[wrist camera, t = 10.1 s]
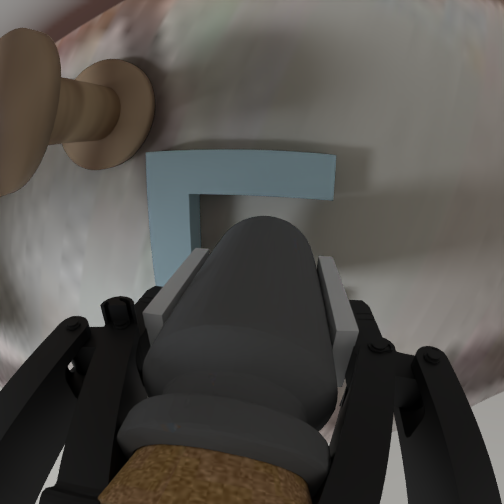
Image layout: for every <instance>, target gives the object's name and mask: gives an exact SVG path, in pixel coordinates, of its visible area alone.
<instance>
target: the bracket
mask: <svg viewBox="0 0 504 504" xmlns="http://www.w3.org/2000/svg"><path fill="white" fill-rule="evenodd" d="M335 169H336V155H332V154H322V153H310V152H296V151H278V150H250V149H202V150H174V151H157V152H147V153H146V177H147V198H148V214H149V227H150V238H151V249H152V258H153V267H154V275H155V283H156V286H161V287H163V286H164V285H165V284H166V283H167V281H168V280H169V279H170V278H171V277H172V275H173V274H174V273H175V272H176V271H177V269H178V268H179V267H180V266H181V265H182V263H183V262H184V261H185V260H186V259H187V257H188V256H189V255H190V254H191V253H192V251H193V250H194V249H195V248H201V230H200V194H223V195H252V196H273V197H290V198H306V199H319V200H332V201H333V195H334V183H335Z"/></svg>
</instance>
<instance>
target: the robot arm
mask: <svg viewBox="0 0 504 504" xmlns="http://www.w3.org/2000/svg"><path fill="white" fill-rule="evenodd" d="M208 257H209V249H206V248H195V249H194V250H193V251H192V253H191V254H190V255H189V256H188V257H187V259H186V260H185V261H184V262H183V263H182V265H181V266H180V267H179V268H178V269H177V271H176V272H175V273H174V274H173V275H172V277H171V278H170V279H169V280H168V281H167V283H166V284H165V285H164V286H163V287H161V286H154V287H152V288H151V289H149V290H147V291H146V292H145V293H144V295H143V296H142V297H141V298H140V299H139V300H138V302H137V303H136V304H135V305H134V301H133V300H132V299H131V298H128V297H123V296H119V297H113V298H110V299H107V300H106V301H104V302H103V303H102V304H101V305H100V306H101V309H102V313H103V317H104V321H105V326H104V327H89V324H88V321H87V319H86V318H84V317H81V316H72V317H69V318H67V319H65V320H64V321H63V322H61V323H60V324H59V325H58V326H57V327H56V328H55V330H54V331H53V332H52V333H51V334H50V335H49V336H48V337H47V338H46V339H45V340H44V341H43V342H42V343H41V345H40V346H39V347H38V348H37V349H36V350H35V351H34V352H33V353H32V354H31V356H30V357H29V358H28V359H27V360H26V361H25V362H24V364H23V365H22V366H21V367H20V368H19V369H18V371H17V372H16V373H15V374H14V375H13V376H12V378H11V379H10V380H9V381H8V382H7V384H6V385H5V386H4V387H3V389H2V390H1V391H0V504H35V502H36V500H37V498H38V496H39V494H40V492H41V490H42V487H43V485H44V483H45V481H46V479H47V477H48V475H49V473H50V471H51V469H52V467H53V466H54V464H55V461H56V460H57V457H58V456H59V453H60V452H61V450H62V448H63V447H64V445H65V447H64V451H63V455H62V460H61V464H60V469H59V474H58V479H57V482H56V484H55V486H53V487H48V488H46V489H45V490H44V491H43V492H42V494H41V497H40V501H39V504H100V501H99V500H98V497H99V495H100V494H101V493H102V492H103V490H104V489H105V488H106V487H107V486H108V485H109V483H110V482H111V481H112V479H113V478H114V477H115V476H116V475H117V473H118V472H119V471H120V470H121V469H122V467H123V466H124V465H125V464H126V463H127V461H128V460H127V459H126V457H125V456H124V454H123V452H122V450H121V448H120V446H119V444H118V442H117V435H118V431H119V429H120V428H121V426H122V424H123V422H124V420H125V418H126V416H127V415H128V413H129V411H130V410H131V409H132V408H133V407H134V406H135V405H136V404H138V403H139V402H141V401H143V400H144V399H146V398H147V396H148V395H147V393H146V391H145V387H144V383H143V374H142V369H143V364H144V359H145V357H146V355H147V353H148V351H149V349H150V347H151V345H152V343H153V342H154V340H155V339H156V337H157V335H158V334H159V332H160V330H161V329H162V327H163V325H164V324H165V322H166V321H167V319H168V317H169V316H170V314H171V313H172V311H173V309H174V308H175V306H176V305H177V303H178V302H179V300H180V299H181V297H182V296H183V294H184V293H185V291H186V290H187V288H188V287H189V285H190V284H191V282H192V281H193V279H194V278H195V276H196V275H197V273H198V272H199V270H200V269H201V267H202V266H203V264H204V263H205V261H206V260H207V258H208ZM317 273H318V278H319V282H320V287H321V291H322V296H323V302H324V307H325V312H326V317H327V323H328V328H329V334H330V340H331V346H332V352H333V358H334V364H335V371H336V378H337V387H342V385H343V382H344V379H346V384H347V386H346V389H345V392H344V395H343V397H342V400H341V403H340V405H339V406H341V407H340V411H339V414H338V418H337V422H336V425H335V429H334V432H333V435H332V439H331V442H330V445H329V449H330V455H331V464H330V469H329V472H328V474H327V476H326V478H325V480H324V482H323V483H322V485H321V487H320V488H319V490H318V491H317V493H316V494H315V495H314V497H313V498H312V499H311V500H312V504H380V500H381V496H382V490H383V485H384V481H385V475H386V469H387V463H388V457H389V449H390V442H391V433H392V424H393V412H394V416H395V421H396V426H397V431H398V436H399V442H400V447H401V453H402V459H403V466H404V473H405V480H406V488H407V496H408V504H502V503H501V498H500V494H499V490H498V486H497V482H496V478H495V475H494V471H493V468H492V464H491V461H490V458H489V455H488V452H487V449H486V446H485V443H484V440H483V438H482V435H481V432H480V429H479V427H478V424H477V422H476V419H475V417H474V414H473V412H472V409H471V407H470V405H469V402H468V400H467V398H466V395H465V393H464V391H463V389H462V387H461V384H460V382H459V380H458V378H457V376H456V374H455V372H454V370H453V368H452V366H451V364H450V362H449V360H448V358H447V356H446V355H445V354H444V352H442V351H441V350H439V349H438V348H435V347H431V346H424V347H421V348H419V349H418V350H417V352H416V355H415V356H414V355H409V354H403V353H400V352H397V351H396V350H395V346H394V345H393V344H392V343H391V342H390V341H389V340H387V339H385V338H382V335H381V333H380V330H379V328H378V326H377V323H376V321H375V319H374V316H373V315H372V312H371V309H370V307H369V306H368V305H367V304H366V303H365V302H363V301H362V300H348V297H347V294H346V292H345V289H344V286H343V283H342V280H341V278H340V275H339V272H338V270H337V267H336V264H335V262H334V259H333V257H332V256H318V265H317ZM70 362H72V364H73V366H74V367H73V368H72V369H71V370H69V369H68V365H69V363H70ZM134 453H135V451H133V454H134ZM133 454H132V455H133Z"/></svg>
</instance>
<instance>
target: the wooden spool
mask: <svg viewBox="0 0 504 504" xmlns="http://www.w3.org/2000/svg"><path fill="white" fill-rule="evenodd" d="M154 112H155V96H154V91H153V87H152V85H151V82H150V80H149V79H148V77H147V76H146V74H145V73H144V72H143V71H142V70H141V69H139V68H138V67H137V66H135V65H133V64H130V63H128V62H126V61H123V60H119V59H107V60H102V61H99V62H97V63H94V64H93V65H91V66H89V67H88V68H86V69H85V70H84V71H83V72H81V73H80V74H79V75H78V76H77V78H76V79H75V80H73V79H68V78H62V77H61V65H60V58H59V53H58V50H57V47H56V45H55V43H54V41H53V40H52V39H51V38H50V37H49V36H48V35H47V34H45V33H42V32H39V31H35V30H31V29H27V28H18V29H14V30H12V31H10V32H8V33H7V34H5V35H4V36H2V37H1V38H0V197H1V196H4V195H7V194H10V193H13V192H16V191H17V190H19V189H21V188H22V187H23V186H24V185H25V184H26V183H27V182H28V181H29V180H30V179H31V177H32V176H33V174H34V173H35V172H36V170H37V168H38V166H39V164H40V163H41V161H42V158H43V156H44V154H45V151H46V149H47V146H48V145H54V144H62V145H63V148H64V150H65V152H66V153H67V155H68V156H69V158H70V159H71V160H72V161H73V162H74V163H76V164H77V165H79V166H81V167H83V168H85V169H90V170H100V169H106V168H111V167H114V166H117V165H120V164H122V163H124V162H125V161H126V160H128V159H129V158H130V157H132V156H133V155H134V154H135V153H136V152H137V151H138V149H139V148H140V147H141V145H142V144H143V143H144V141H145V139H146V137H147V136H148V133H149V131H150V129H151V126H152V122H153V118H154Z"/></svg>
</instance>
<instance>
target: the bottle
mask: <svg viewBox="0 0 504 504" xmlns="http://www.w3.org/2000/svg"><path fill="white" fill-rule="evenodd" d="M142 374H143V383H144V387H145V391H146V393H147V395H148V398H146V399H144V400H143V401H141V402H139V403H138V404H136V405H135V406H134V407H133V408H132V409H131V410H130V411H129V413H128V415H127V416H126V418H125V420H124V422H123V424H122V426H121V428H120V429H119V431H118V435H117V442H118V444H119V446H120V448H121V450H122V452H123V454H124V456H125V457H126V459H127V460H128V461H127V463H126V464H125V465H124V466H123V467H122V469H121V470H120V471H119V472H118V473H117V475H116V476H115V477H114V478H113V479H112V481H111V482H110V483H109V485H108V486H107V487H106V488H105V489H104V490H103V492H102V493H101V494H100V495H99V497H98V500H99V501H100V504H312V500H311V499H312V498H313V497H314V495H315V494H316V493H317V491H318V490H319V488H320V487H321V485H322V483H323V482H324V480H325V478H326V476H327V474H328V472H329V469H330V464H331V455H330V449H329V446H328V443H327V441H326V440H325V439H324V438H323V436H322V435H321V434H320V433H319V432H318V431H319V430H321V429H322V428H323V427H324V425H325V424H326V423H327V422H328V421H329V419H330V417H331V416H332V414H333V412H334V410H335V407H336V403H337V395H338V389H337V378H336V371H335V364H334V358H333V352H332V346H331V340H330V334H329V328H328V323H327V317H326V312H325V307H324V302H323V296H322V291H321V287H320V282H319V278H318V273H317V269H316V265H315V261H314V257H313V253H312V250H311V247H310V245H309V243H308V241H307V239H306V238H305V236H304V235H303V234H302V233H301V232H300V231H299V230H298V229H297V228H296V227H295V226H293V225H292V224H291V223H289V222H287V221H284V220H282V219H279V218H276V217H271V216H257V217H251V218H248V219H245V220H243V221H241V222H239V223H237V224H235V225H234V226H233V227H231V228H230V229H229V230H228V231H227V232H226V233H225V235H224V236H223V237H222V239H221V240H220V241H219V243H218V244H217V246H216V247H215V248H214V250H213V251H212V253H211V254H210V255H209V257H208V258H207V260H206V261H205V263H204V264H203V266H202V267H201V269H200V270H199V272H198V273H197V275H196V276H195V278H194V279H193V281H192V282H191V284H190V285H189V287H188V288H187V290H186V291H185V293H184V294H183V296H182V297H181V299H180V300H179V302H178V303H177V305H176V306H175V308H174V309H173V311H172V313H171V314H170V316H169V317H168V319H167V321H166V322H165V324H164V325H163V327H162V329H161V330H160V332H159V334H158V335H157V337H156V339H155V340H154V342H153V343H152V345H151V347H150V349H149V351H148V353H147V355H146V357H145V359H144V364H143V369H142ZM133 451H135V453H134V454H133ZM132 454H133V455H132Z"/></svg>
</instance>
